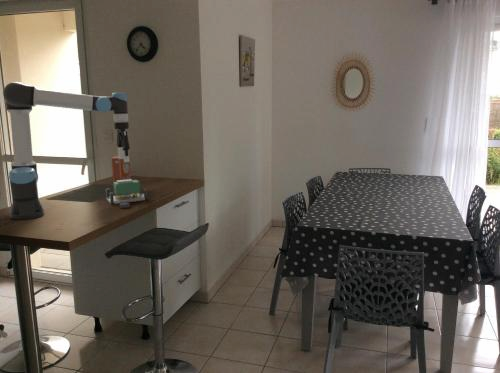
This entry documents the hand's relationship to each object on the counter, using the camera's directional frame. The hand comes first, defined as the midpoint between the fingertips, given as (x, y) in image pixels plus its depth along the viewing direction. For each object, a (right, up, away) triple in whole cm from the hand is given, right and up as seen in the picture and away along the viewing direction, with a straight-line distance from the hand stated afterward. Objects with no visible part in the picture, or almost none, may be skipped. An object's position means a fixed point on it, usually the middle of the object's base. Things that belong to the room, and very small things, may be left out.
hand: (123, 160), depth 253 cm
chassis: (0, -22, +5) cm, 22 cm away
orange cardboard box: (-8, -17, +27) cm, 33 cm away
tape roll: (+4, -25, -12) cm, 29 cm away
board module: (+1, -18, +4) cm, 18 cm away
